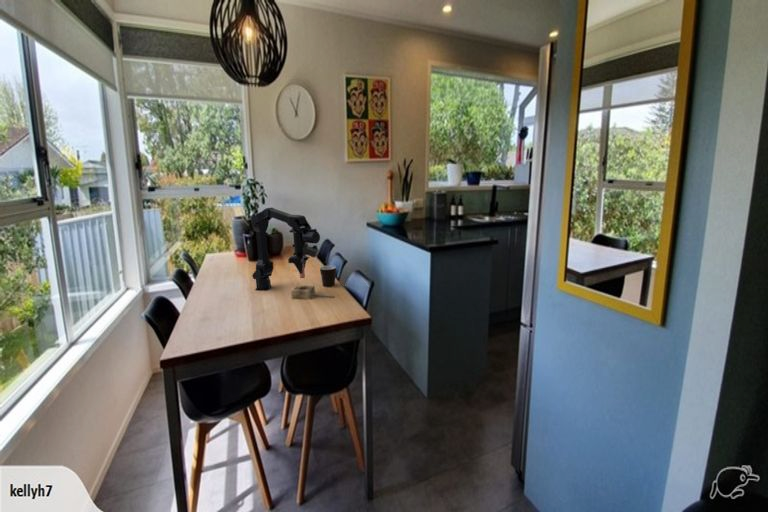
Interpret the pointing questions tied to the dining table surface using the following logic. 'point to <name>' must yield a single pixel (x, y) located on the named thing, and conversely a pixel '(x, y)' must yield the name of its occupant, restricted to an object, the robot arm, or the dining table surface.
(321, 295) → the blue gray square bar
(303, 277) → the reddish pink rod
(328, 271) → the coffee mug
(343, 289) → the dining table surface
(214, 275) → the dining table surface
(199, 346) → the dining table surface
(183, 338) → the dining table surface
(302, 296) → the brown square holed block
